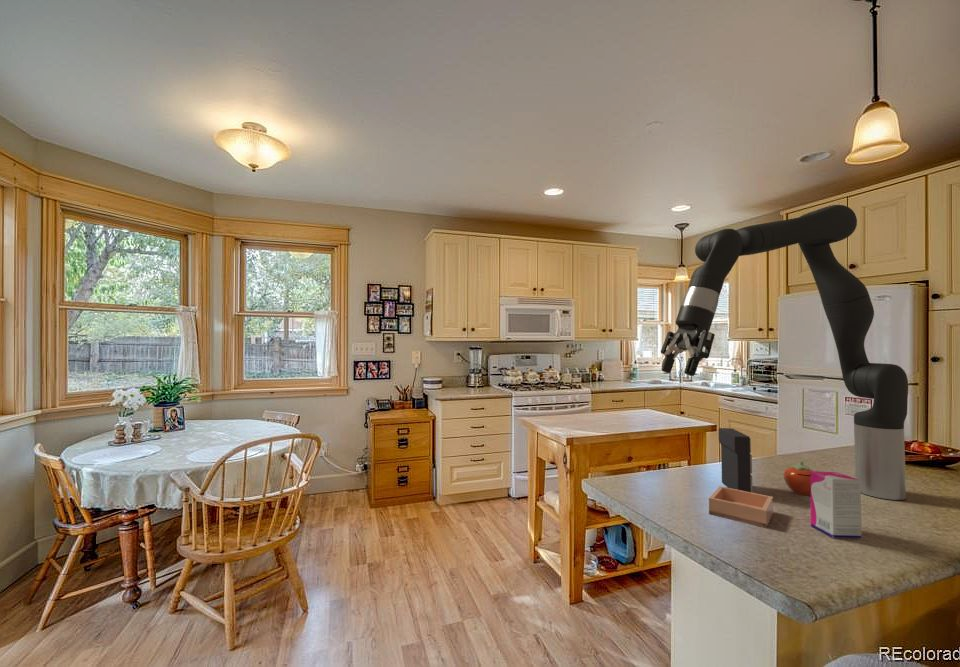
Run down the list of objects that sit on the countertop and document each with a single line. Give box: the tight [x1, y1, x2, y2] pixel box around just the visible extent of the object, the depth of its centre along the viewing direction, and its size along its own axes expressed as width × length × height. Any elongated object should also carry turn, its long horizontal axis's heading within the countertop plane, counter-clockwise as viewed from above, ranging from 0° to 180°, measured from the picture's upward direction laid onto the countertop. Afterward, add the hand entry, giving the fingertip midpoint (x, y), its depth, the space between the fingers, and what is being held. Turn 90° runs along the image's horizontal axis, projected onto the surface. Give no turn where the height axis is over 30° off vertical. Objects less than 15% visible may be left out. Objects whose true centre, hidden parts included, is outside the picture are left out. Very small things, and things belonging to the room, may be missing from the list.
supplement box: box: [810, 470, 862, 539], centre depth 83 cm, size 6×6×12 cm
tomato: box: [782, 460, 814, 496], centre depth 106 cm, size 7×7×8 cm
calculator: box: [718, 427, 753, 493], centre depth 108 cm, size 11×4×15 cm, turn 168°
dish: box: [708, 485, 774, 529], centre depth 92 cm, size 11×11×4 cm
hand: (676, 373), depth 97 cm, fingers open, 8 cm apart
